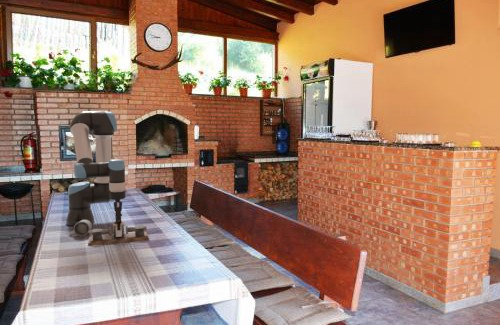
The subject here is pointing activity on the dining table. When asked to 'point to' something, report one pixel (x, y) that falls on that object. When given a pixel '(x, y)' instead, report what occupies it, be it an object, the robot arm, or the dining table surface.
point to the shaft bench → (109, 239)
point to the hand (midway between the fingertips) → (118, 232)
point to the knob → (115, 230)
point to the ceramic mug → (82, 228)
